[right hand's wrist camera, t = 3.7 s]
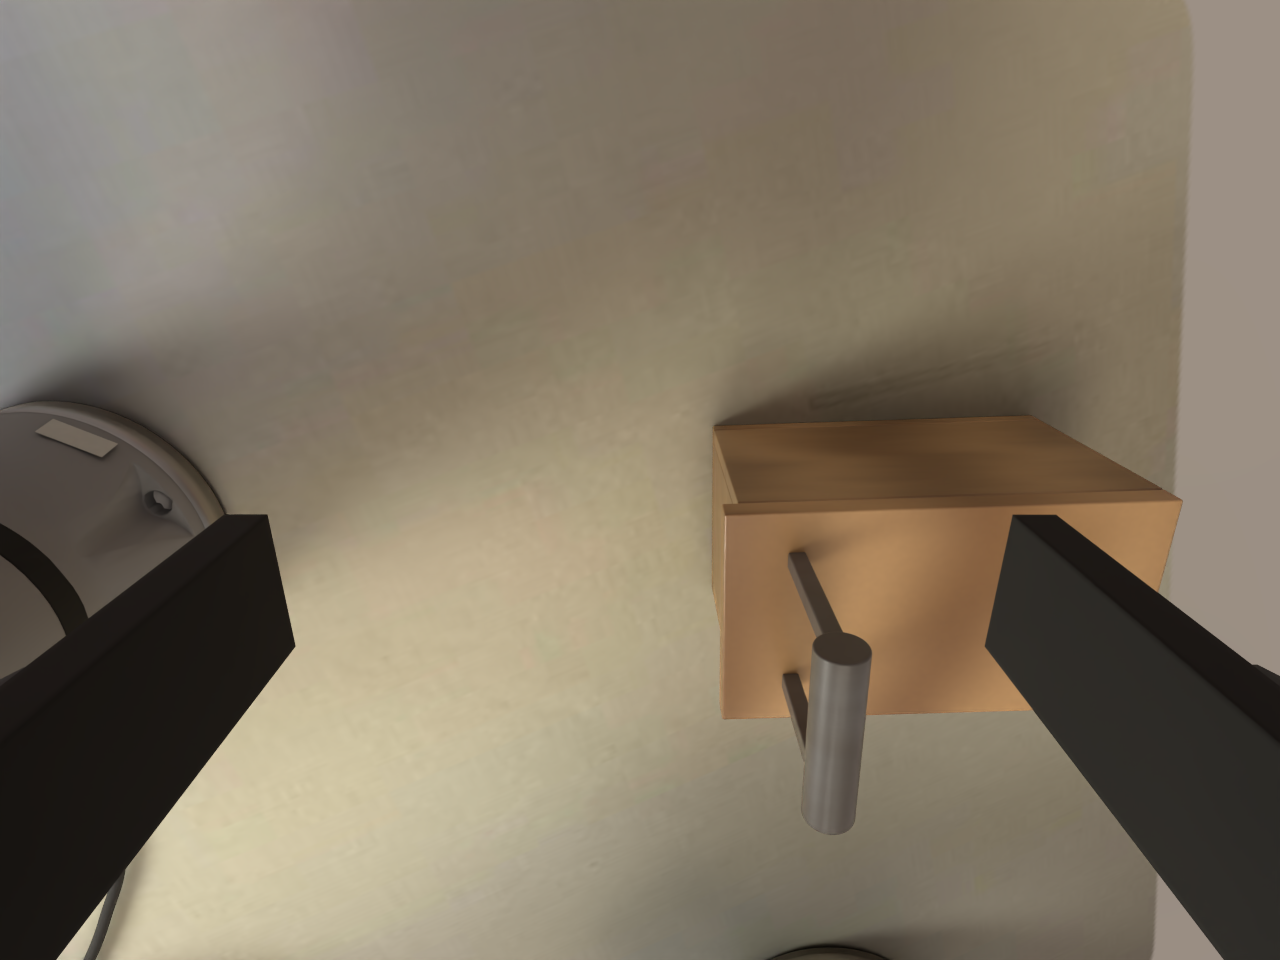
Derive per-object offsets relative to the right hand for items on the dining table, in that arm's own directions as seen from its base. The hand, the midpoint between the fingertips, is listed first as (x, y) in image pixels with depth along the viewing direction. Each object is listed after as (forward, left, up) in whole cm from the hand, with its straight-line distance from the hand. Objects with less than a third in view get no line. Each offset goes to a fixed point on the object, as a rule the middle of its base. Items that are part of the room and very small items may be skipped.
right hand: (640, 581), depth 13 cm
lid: (-5, -14, -14) cm, 21 cm away
